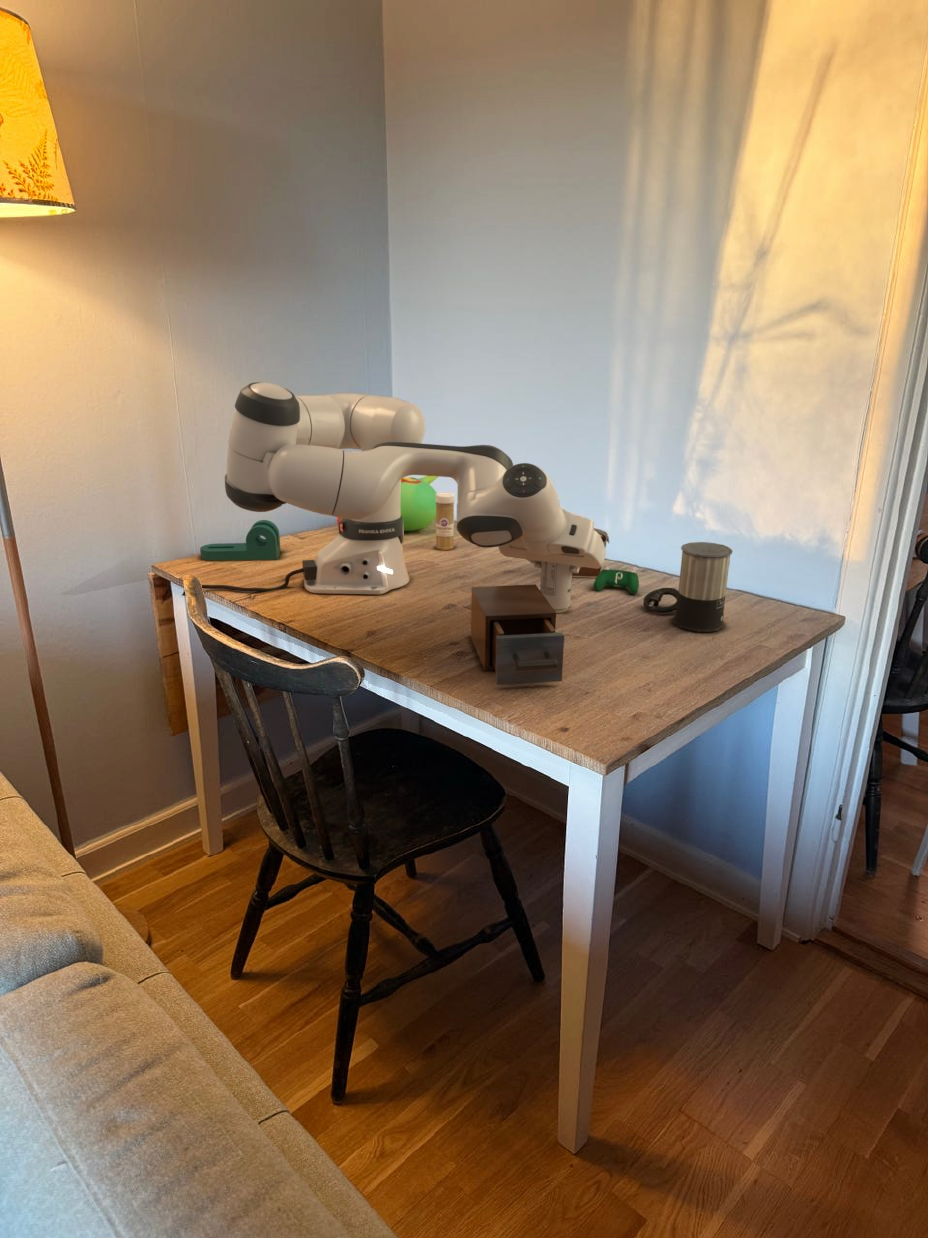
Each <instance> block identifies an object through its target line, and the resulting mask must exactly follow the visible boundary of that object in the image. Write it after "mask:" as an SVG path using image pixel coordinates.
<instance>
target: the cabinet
mask: <svg viewBox="0 0 928 1238" xmlns="http://www.w3.org/2000/svg"><path fill="white" fill-rule="evenodd" d="M470 590H471V595H470V599H471V600H470V606H471V607H470V638H471V641H472V644H473V647H474V648H475V651H476V653H477V656H478V658H479V660H480V663H481V665H482V667H483V670H484V672H486V671H489V672H490V671H496V670H495V668H494V665H493V663H492V661H491V659H490V620H509V619H530V618H547V619H548V620H549V622H550V623H551V625H552V626H553V628H554V629H555V630H556V627H557V625H556V624H557V613H556V612H555V610H554V609H553V608H552V606H551V605H550V603H549V602H548V601H547V599H546V598H545V597H544V595H543V594H542V592H541V591H540V587H538V585H537V584H515V585H514V584H513V585H511V584H509V585H487V586H471V589H470Z"/></svg>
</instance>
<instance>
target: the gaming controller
mask: <svg viewBox="0 0 928 1238" xmlns="http://www.w3.org/2000/svg"><path fill="white" fill-rule="evenodd" d="M639 579H640V578H639V575H638V572H637V571H636V569H635V568H630V569H629V571H628V570H620V569H610V567H609V566H608V565H605V566H604V567H602V570H601V572H600V574H599V575H598V576H597V578H595V580H594V582H593V590H594V591H601V590H602V589H603V588H605V587H606V586H607V587H608V588H609V587H610V588H613V587H618V588H622V589H628V591H629V593H630V595H637V594H638V592H639V586H640V580H639Z"/></svg>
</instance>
